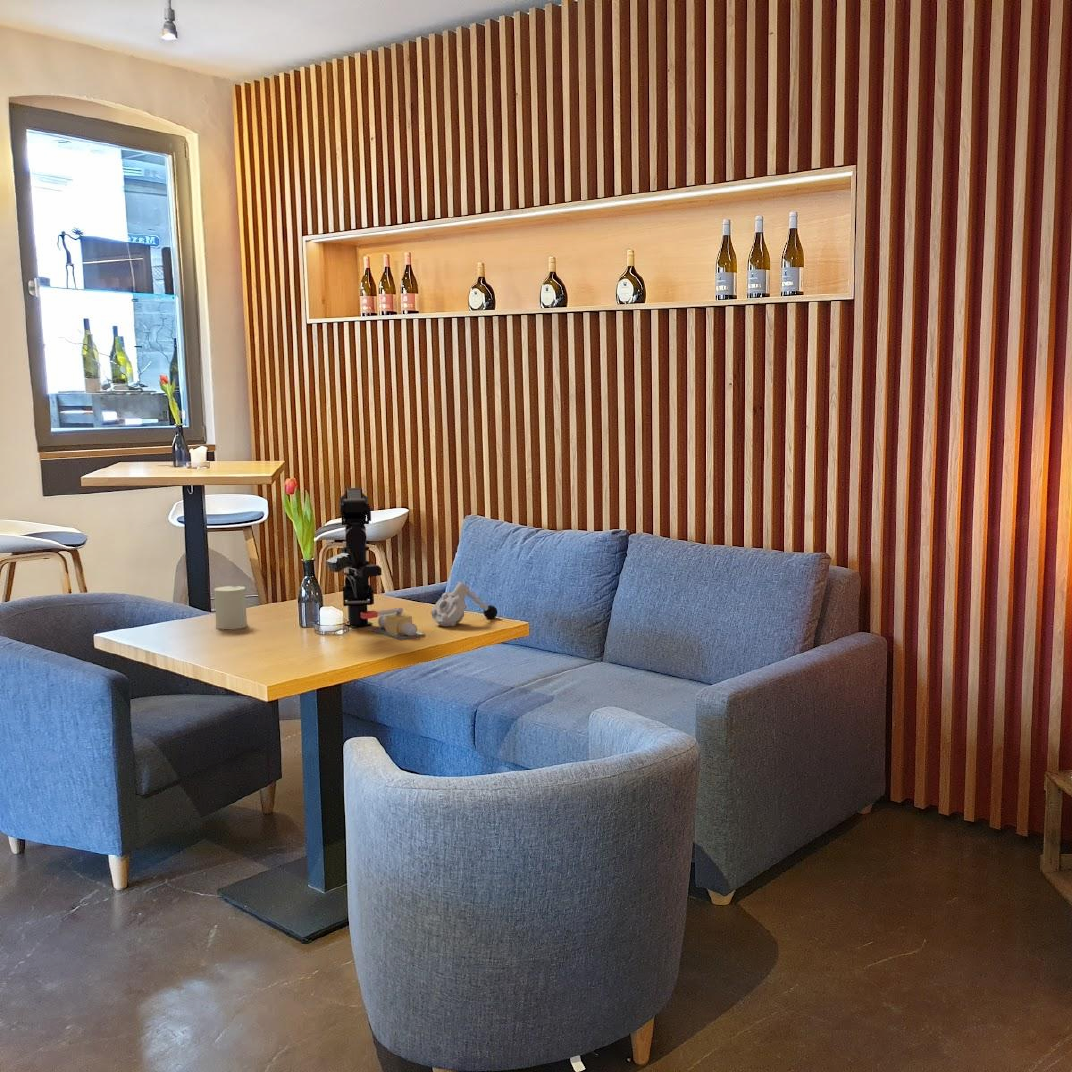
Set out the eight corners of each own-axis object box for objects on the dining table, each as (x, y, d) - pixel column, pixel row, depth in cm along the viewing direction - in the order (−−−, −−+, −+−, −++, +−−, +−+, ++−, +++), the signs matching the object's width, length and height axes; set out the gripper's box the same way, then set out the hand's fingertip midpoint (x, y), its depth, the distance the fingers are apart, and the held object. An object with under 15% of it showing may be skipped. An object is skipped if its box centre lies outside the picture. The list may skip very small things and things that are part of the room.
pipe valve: (370, 630, 328) (370, 610, 327) (394, 626, 333) (394, 606, 332) (400, 640, 315) (399, 619, 314) (424, 636, 320) (424, 615, 319)
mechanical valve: (424, 615, 336) (452, 574, 339) (461, 646, 346) (488, 606, 350) (442, 623, 328) (471, 581, 331) (480, 654, 338) (508, 614, 342)
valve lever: (400, 612, 324) (400, 606, 324) (404, 613, 322) (404, 607, 322) (360, 617, 316) (360, 612, 316) (364, 619, 314) (364, 613, 314)
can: (252, 623, 340) (250, 584, 339) (239, 630, 331) (237, 589, 330) (224, 623, 342) (222, 583, 340) (210, 629, 333) (208, 589, 331)
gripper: (315, 542, 322) (317, 596, 324) (345, 549, 307) (347, 606, 309) (350, 539, 329) (351, 592, 331) (381, 545, 314) (383, 601, 316)
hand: (357, 597), depth 321 cm, fingers closed
